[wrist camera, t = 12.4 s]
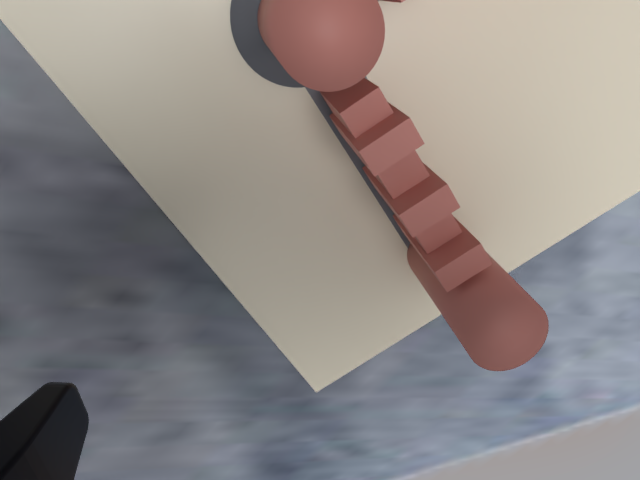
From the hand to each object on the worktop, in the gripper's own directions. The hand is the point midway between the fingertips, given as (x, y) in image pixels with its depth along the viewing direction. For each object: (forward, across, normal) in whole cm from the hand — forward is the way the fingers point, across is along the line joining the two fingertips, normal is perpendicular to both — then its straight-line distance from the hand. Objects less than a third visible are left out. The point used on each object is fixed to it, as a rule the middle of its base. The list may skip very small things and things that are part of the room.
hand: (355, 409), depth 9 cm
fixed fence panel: (+12, 0, +2) cm, 12 cm away
